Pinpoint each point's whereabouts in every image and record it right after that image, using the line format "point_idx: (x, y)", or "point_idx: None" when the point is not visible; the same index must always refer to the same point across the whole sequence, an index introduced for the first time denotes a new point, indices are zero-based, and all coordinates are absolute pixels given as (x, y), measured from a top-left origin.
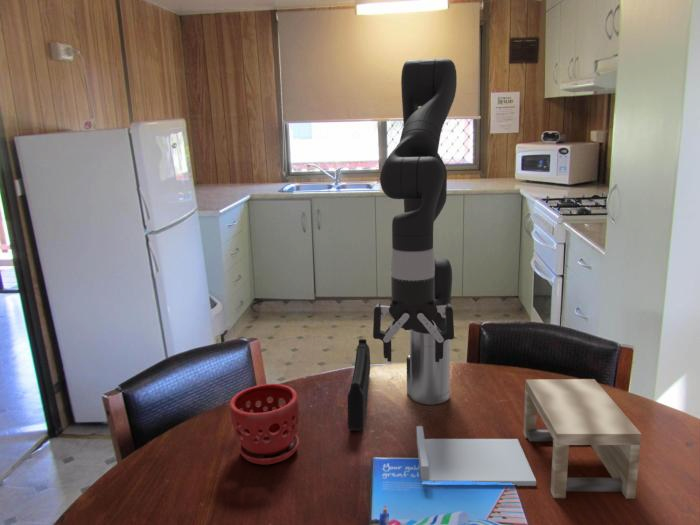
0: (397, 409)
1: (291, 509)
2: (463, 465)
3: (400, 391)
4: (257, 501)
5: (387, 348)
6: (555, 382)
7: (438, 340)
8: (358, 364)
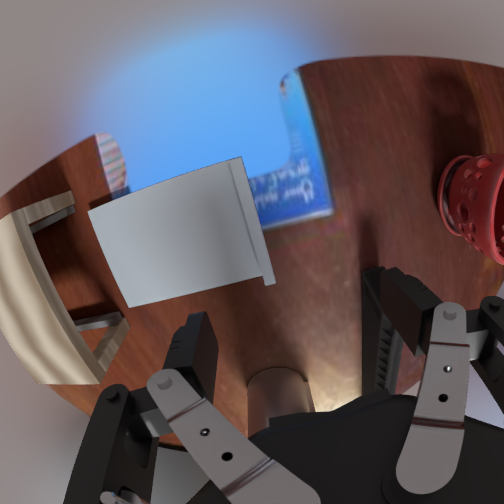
0: (317, 346)
1: (399, 72)
2: (184, 217)
3: (318, 385)
4: (438, 87)
5: (421, 291)
6: (64, 376)
7: (173, 377)
8: (392, 389)
